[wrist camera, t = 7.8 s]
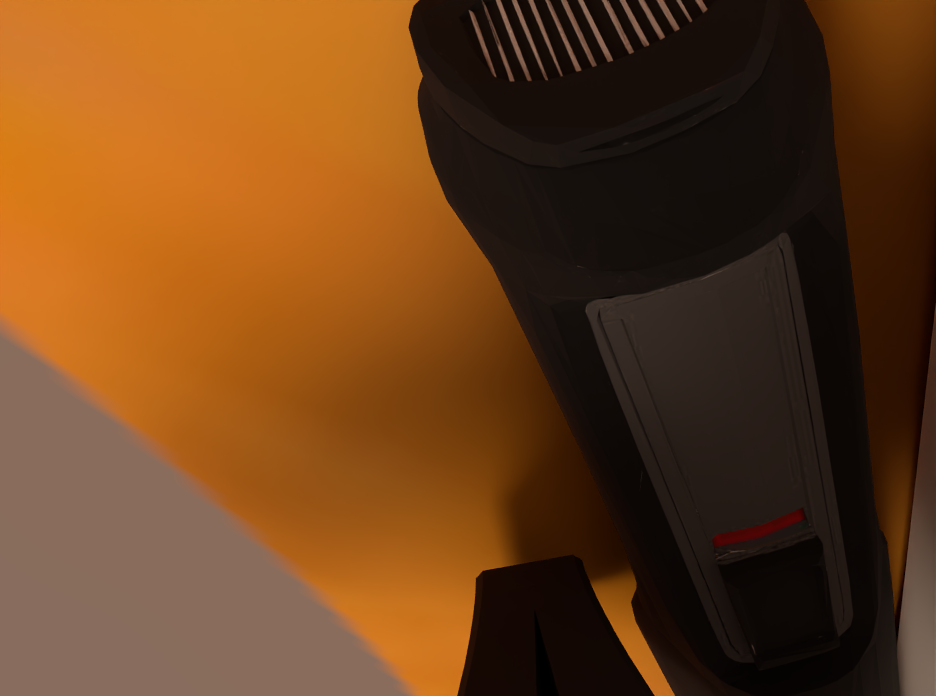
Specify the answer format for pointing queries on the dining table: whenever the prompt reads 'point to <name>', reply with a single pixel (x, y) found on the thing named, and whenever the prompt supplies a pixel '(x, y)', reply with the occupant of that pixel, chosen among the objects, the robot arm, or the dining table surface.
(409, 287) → the dining table surface
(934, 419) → the pad
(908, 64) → the dining table surface
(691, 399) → the electric trimmer
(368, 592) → the dining table surface
